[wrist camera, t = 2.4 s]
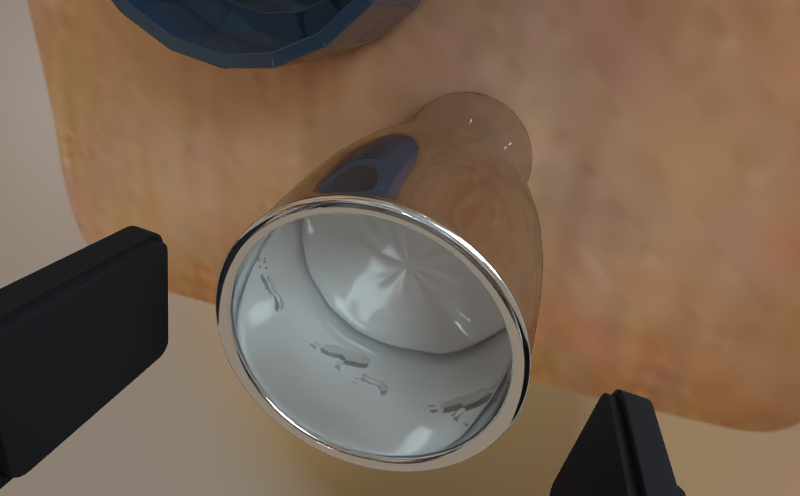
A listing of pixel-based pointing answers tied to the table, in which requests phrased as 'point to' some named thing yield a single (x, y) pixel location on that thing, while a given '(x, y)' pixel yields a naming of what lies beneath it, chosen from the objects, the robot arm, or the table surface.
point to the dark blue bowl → (264, 28)
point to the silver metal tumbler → (395, 292)
